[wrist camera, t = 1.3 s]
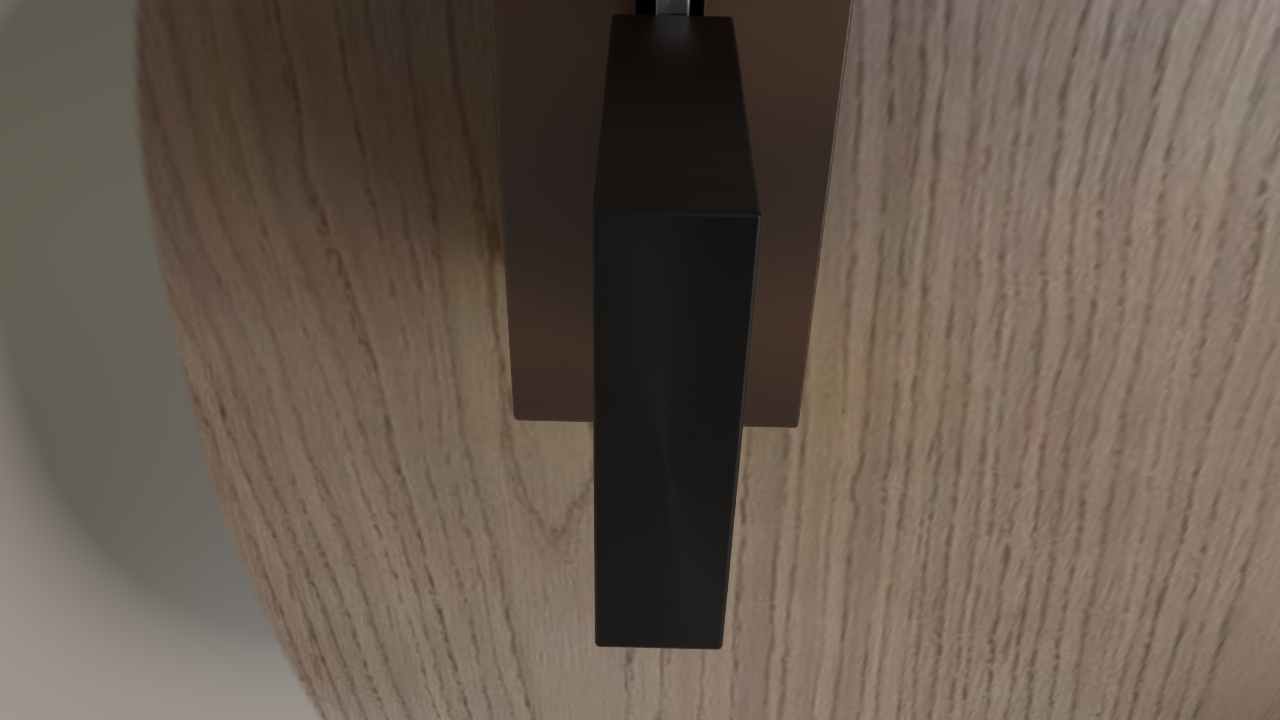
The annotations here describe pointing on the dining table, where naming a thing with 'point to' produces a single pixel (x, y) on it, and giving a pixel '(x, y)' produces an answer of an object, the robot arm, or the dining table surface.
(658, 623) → the black and grey slab
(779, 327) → the knife block
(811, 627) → the dining table surface
